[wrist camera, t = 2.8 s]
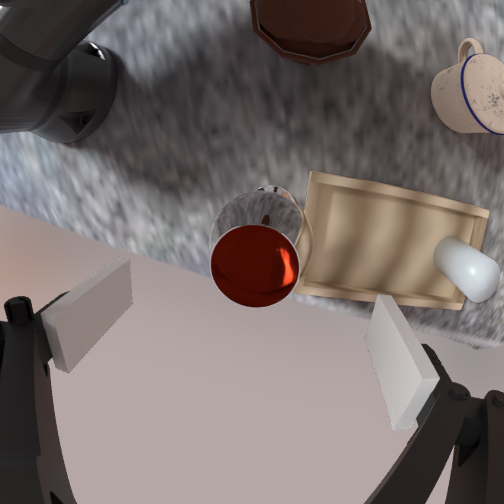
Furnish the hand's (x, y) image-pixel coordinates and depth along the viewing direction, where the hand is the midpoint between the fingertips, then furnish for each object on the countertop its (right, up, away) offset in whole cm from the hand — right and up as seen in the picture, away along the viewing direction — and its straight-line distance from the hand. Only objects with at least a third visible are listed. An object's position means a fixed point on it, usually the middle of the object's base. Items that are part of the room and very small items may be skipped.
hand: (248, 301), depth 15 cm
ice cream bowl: (+7, +27, +14) cm, 31 cm away
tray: (+18, +4, +20) cm, 27 cm away
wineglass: (+2, +7, +21) cm, 22 cm away
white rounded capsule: (+26, +2, +18) cm, 32 cm away
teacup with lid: (+26, +23, +13) cm, 37 cm away
